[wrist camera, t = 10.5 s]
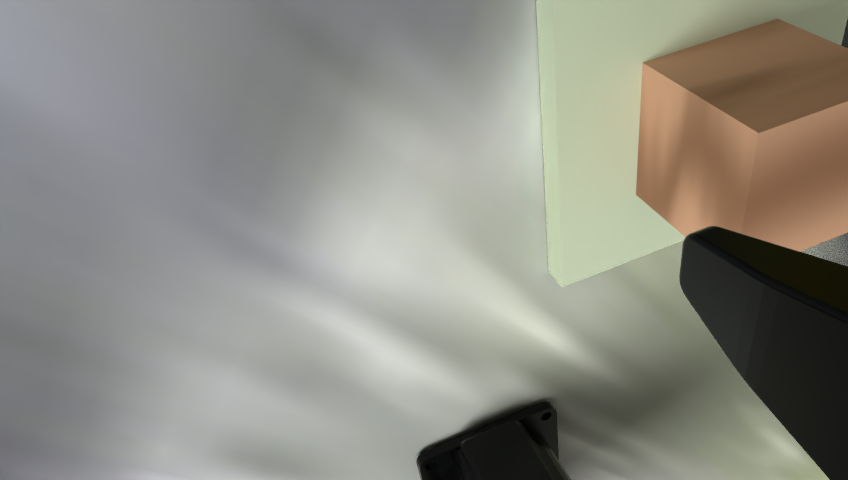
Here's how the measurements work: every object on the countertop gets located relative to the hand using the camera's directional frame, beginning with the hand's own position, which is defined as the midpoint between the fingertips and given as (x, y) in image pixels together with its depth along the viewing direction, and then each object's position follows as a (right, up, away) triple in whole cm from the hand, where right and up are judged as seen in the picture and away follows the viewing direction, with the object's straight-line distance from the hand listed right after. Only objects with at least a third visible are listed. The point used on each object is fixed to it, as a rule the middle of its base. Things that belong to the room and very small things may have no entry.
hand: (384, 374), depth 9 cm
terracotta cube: (+10, +6, +15) cm, 19 cm away
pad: (+10, +7, +16) cm, 19 cm away
